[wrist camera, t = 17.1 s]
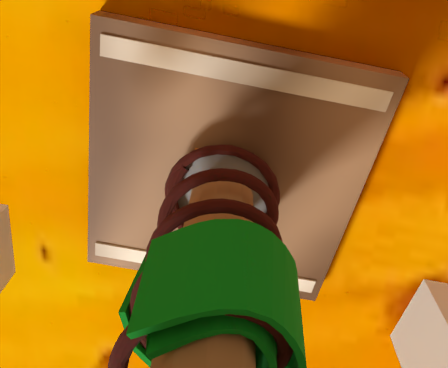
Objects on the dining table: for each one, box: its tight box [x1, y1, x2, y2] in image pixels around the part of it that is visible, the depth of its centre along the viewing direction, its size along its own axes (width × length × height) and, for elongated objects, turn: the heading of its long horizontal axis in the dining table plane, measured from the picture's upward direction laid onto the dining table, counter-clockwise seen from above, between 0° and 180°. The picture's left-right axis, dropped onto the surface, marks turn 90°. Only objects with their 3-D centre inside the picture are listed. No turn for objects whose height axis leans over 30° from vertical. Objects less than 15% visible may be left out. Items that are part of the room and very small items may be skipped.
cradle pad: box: [88, 11, 409, 301], centre depth 18 cm, size 12×12×1 cm
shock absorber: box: [108, 144, 307, 368], centre depth 11 cm, size 6×6×15 cm
